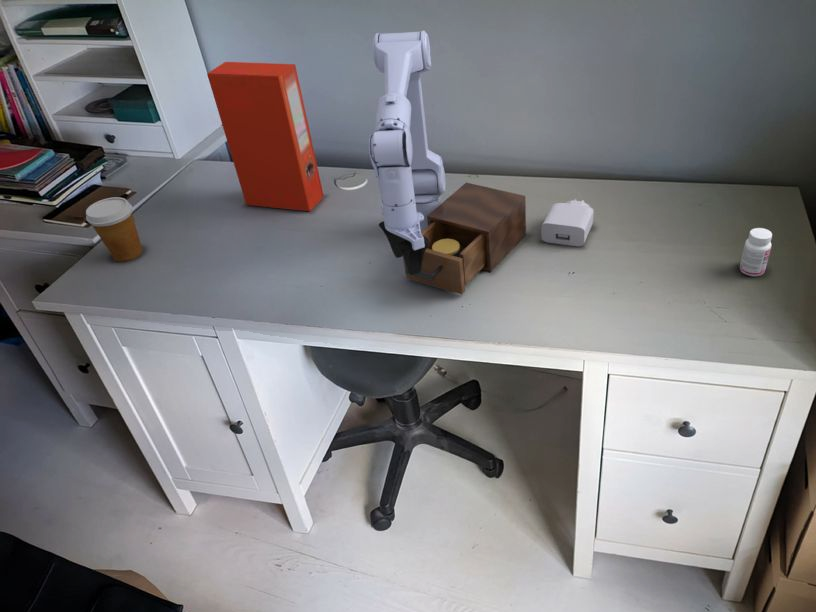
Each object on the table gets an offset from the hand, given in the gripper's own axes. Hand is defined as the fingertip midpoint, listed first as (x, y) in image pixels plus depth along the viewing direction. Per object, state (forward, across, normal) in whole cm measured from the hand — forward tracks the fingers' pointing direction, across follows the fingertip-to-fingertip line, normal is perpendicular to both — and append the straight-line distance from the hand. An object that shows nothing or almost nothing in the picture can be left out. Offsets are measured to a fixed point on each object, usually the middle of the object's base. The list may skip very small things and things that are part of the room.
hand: (407, 264), depth 130 cm
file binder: (+11, +57, +9) cm, 59 cm away
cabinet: (+10, +13, -21) cm, 27 cm away
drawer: (+10, +6, -10) cm, 15 cm away
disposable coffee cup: (+11, +54, +47) cm, 72 cm away
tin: (+8, +7, -11) cm, 15 cm away
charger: (+11, +8, -42) cm, 44 cm away
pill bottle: (+11, -25, -62) cm, 68 cm away
